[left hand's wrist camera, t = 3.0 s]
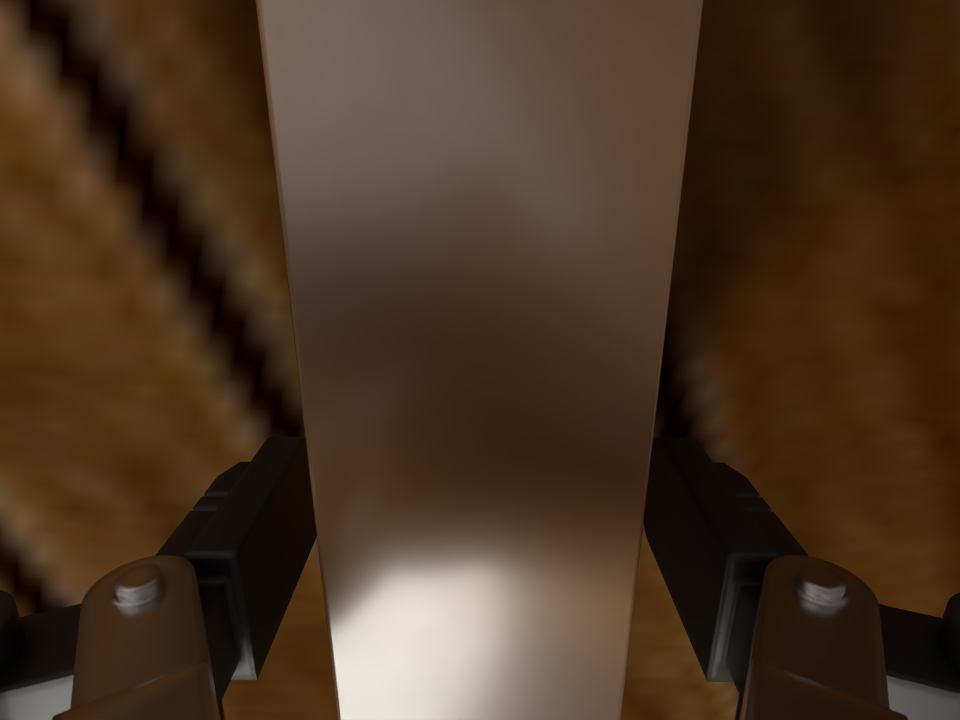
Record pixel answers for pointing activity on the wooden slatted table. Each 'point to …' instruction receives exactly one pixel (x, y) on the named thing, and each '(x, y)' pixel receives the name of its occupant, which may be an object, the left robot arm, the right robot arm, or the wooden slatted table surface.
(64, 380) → the wooden slatted table surface
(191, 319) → the wooden slatted table surface
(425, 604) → the bar
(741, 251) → the wooden slatted table surface
